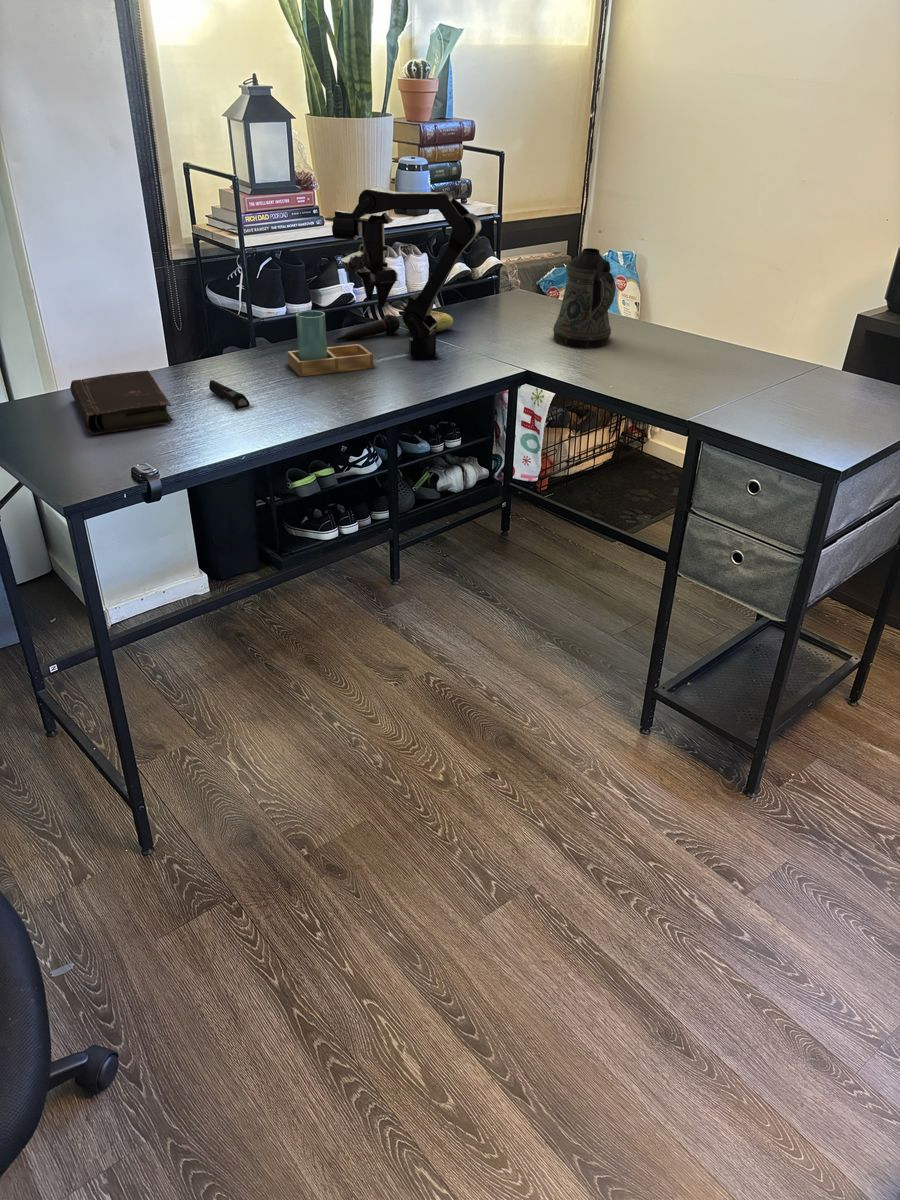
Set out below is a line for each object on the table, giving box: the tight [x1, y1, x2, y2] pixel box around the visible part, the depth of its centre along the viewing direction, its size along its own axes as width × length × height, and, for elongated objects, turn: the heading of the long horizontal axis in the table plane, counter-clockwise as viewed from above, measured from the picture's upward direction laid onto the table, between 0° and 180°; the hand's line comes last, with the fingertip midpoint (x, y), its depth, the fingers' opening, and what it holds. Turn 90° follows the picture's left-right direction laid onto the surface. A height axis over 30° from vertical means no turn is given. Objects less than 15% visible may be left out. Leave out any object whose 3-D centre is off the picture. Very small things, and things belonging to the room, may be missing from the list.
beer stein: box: [552, 247, 617, 349], centre depth 249 cm, size 16×19×25 cm
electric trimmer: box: [208, 379, 251, 410], centre depth 207 cm, size 4×16×3 cm, turn 39°
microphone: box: [336, 313, 401, 341], centre depth 255 cm, size 6×6×20 cm
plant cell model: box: [403, 310, 454, 333], centre depth 260 cm, size 11×8×15 cm
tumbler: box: [295, 309, 328, 361], centre depth 226 cm, size 7×7×13 cm
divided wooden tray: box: [287, 343, 374, 377], centre depth 230 cm, size 20×10×4 cm, turn 114°
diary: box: [69, 369, 174, 436], centre depth 198 cm, size 19×25×5 cm
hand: (375, 303), depth 236 cm, fingers open, 9 cm apart
